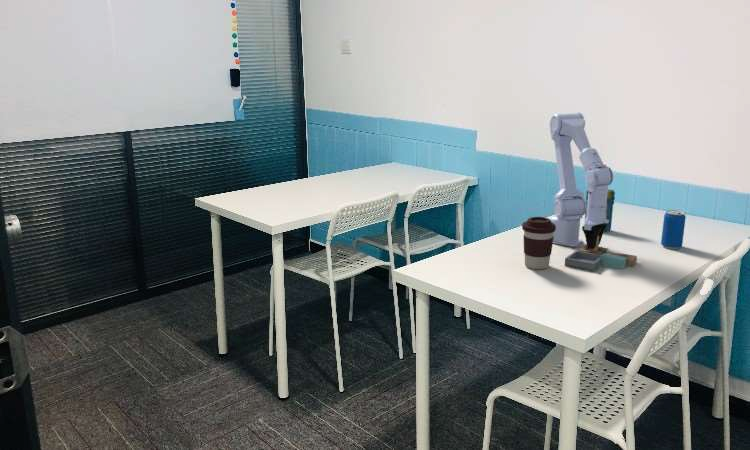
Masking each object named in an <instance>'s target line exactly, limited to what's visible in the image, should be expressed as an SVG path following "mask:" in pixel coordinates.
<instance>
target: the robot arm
mask: <svg viewBox="0 0 750 450" xmlns="http://www.w3.org/2000/svg"><path fill="white" fill-rule="evenodd" d="M585 126H586V120H585V117H584V115H583V114H582V112H571V113H554V114H552V116H551V118H550V121H549V131H550V136H551V137H550V138H551V140H552V141H553V143H554V145H553V146H554V150H555V151H554V152H555V158H556V166H557V174H558V181H559V189H560V190H559V191H558V192H557V193H556V194H555V195H554V196H553V209H552V210H553V214H554V215H553V216H552V217H551V219H550V220H551V222H552V223H554V224H555V225H556V230H555V231H554V232H553V244H555V245H561V246H566V247H572V248H576V247H577V246H578V245H580V244H581V243H583V242H584V241H583V239H580V230H582V232H583V234H584V237H585V242H586V243H585V244H586V245H587V248H590V249H594V248H595V246H596V241H597V237H598V235H599V245H600V244H601V243H602V242H601V241H602V238H603V234H604V233H605V232H604V231H605V229H606V227H607V226H608V222H609V220H606V205H607V193H608V190H609V186H611V185H612V183H613V180H614V173H613V170H612V169H611V167H610V166H607V164H604V163H603V160H602V158H601V156H600V154H599V152H598V151H597V149H596V148H594V147H593V148H592V147H591V143H590V142H589V141H590V140H589V138H588V137H587V133H586V130H585ZM572 141H573V142H574V144H575V146H576V147H577V149H578V151H579V152H580V154H579V161H580V163H581V165H582V166H583V169H584V171H585V173H586V175H585V176H584V177H585V182H586V192H587V191H588V203H587V204H586V202H587V200H586V199H585V195H584V192H582V191H581V190H579V189H578V188H577V183H576V177H575V168H574V162H573V154H572V146H571V143H572ZM586 211H587V215H586V219H585V218H584V225H582V226H581V220H582V219H583V216H585V213H586ZM580 227H582V228H581V229H580Z"/></svg>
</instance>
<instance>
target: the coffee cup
mask: <svg viewBox="0 0 750 450" xmlns="http://www.w3.org/2000/svg"><path fill="white" fill-rule="evenodd" d="M521 227H522V230H523V254H524V266H525V267H526V268H529V269H530V270H531V269H532V270H545V269H548V268H549V266H550V261H551V255H552V249H553V244H554V243H553V232H554V231H555V230H556V225H555V224H554V223H552V222H551V219H550V218H548V217H545V216H544V217H543V216H530V217H529V218H527V221H523V223H522V225H521Z"/></svg>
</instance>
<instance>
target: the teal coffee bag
mask: <svg viewBox="0 0 750 450" xmlns="http://www.w3.org/2000/svg"><path fill="white" fill-rule="evenodd" d="M615 194H616V192H615V190H614V189H608V193H607V205H606V220H609V222H608V226H607V227H606V229H605V231H604V233H607V232H610V231H612V230H611V229H612V219H613V212H614V211H613V210H614V205H615V204H614V203H615V199H616V195H615ZM585 197H586V199H585V201H586V204H587V203H588V191H587V190H586V194H585ZM586 215H587V211H586V213H585V214H584V220H585V219H586Z"/></svg>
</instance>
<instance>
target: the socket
mask: <svg viewBox="0 0 750 450" xmlns="http://www.w3.org/2000/svg"><path fill="white" fill-rule="evenodd" d="M608 250H609V248H608V247H604V246H603V247H602V246H598V252H595V251H589V250H588V248H587V244H585V245H584V246H582V247H581V248H579V249H578V250H577V251H581V252H586V253H592V254H597V255H602V254H603V253H606V254H608Z"/></svg>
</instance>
